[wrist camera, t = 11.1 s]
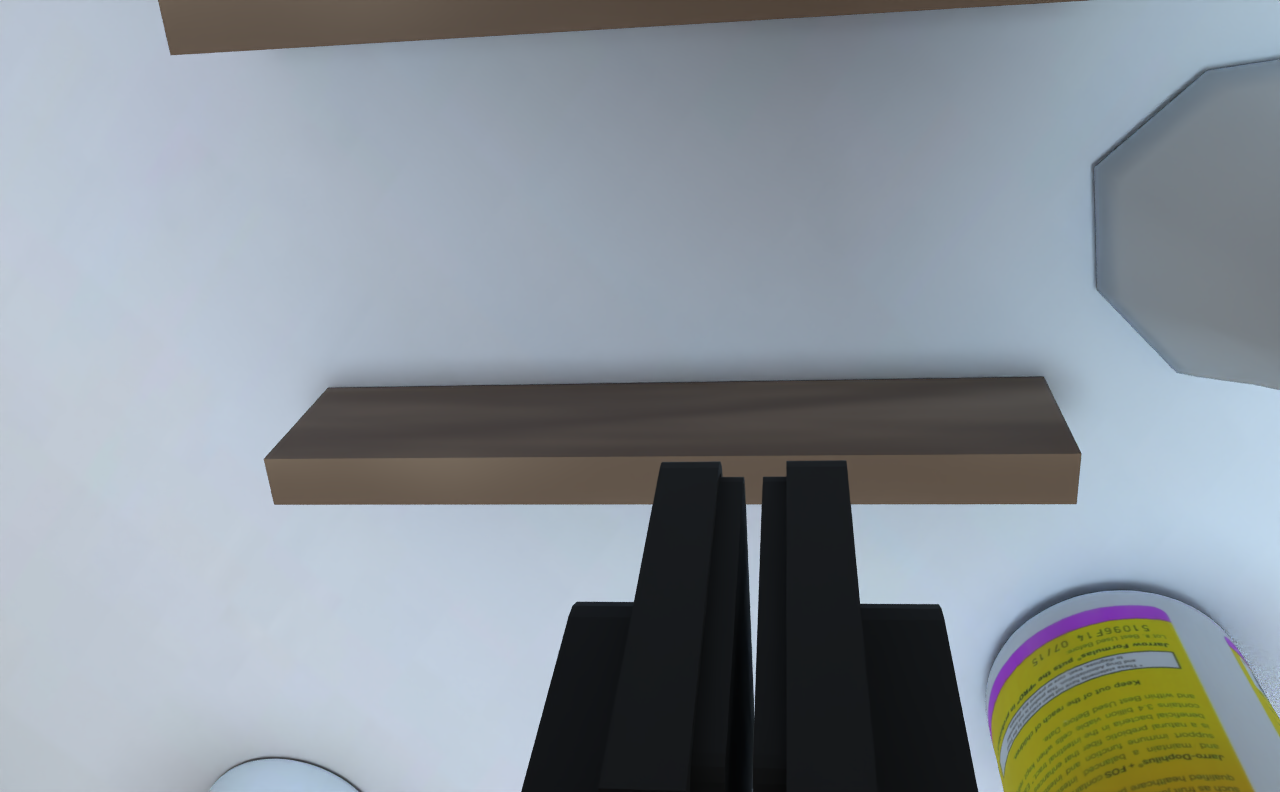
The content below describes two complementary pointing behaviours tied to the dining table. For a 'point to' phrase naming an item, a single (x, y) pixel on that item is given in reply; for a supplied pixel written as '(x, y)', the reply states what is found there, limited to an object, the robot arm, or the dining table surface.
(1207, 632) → the supplement bottle
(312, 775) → the beer glass
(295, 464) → the chute
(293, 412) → the dining table surface
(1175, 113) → the flask
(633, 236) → the dining table surface
